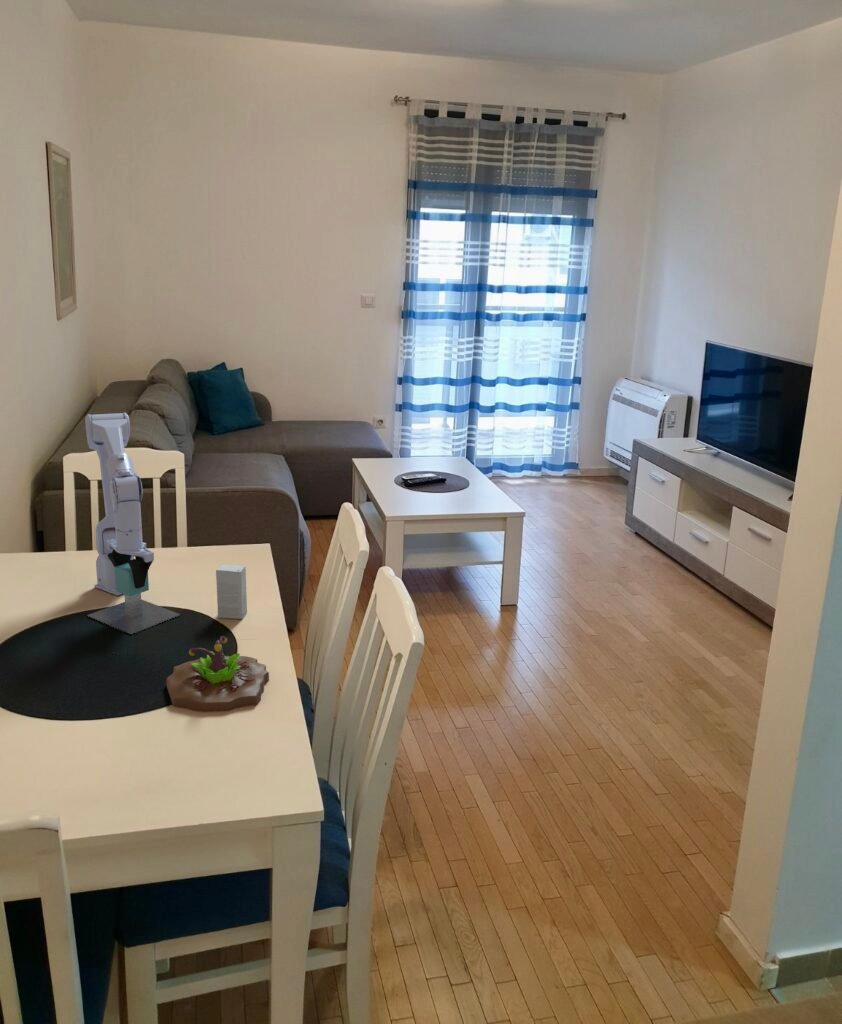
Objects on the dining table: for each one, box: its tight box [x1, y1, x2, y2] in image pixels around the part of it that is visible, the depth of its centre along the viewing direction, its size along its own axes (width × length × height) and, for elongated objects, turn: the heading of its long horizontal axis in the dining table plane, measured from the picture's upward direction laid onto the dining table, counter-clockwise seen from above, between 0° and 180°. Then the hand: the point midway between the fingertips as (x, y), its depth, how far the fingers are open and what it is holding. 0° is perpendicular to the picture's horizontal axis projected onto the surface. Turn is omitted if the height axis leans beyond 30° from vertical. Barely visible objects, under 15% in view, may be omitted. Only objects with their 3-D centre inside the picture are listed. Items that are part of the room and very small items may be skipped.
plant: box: [166, 635, 270, 713], centre depth 177 cm, size 20×20×11 cm
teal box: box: [114, 563, 150, 596], centre depth 207 cm, size 5×5×6 cm
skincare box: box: [215, 564, 248, 620], centre depth 211 cm, size 6×4×12 cm
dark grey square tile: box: [86, 593, 181, 635], centre depth 209 cm, size 16×14×7 cm
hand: (132, 584), depth 208 cm, fingers closed on teal box, 5 cm apart
